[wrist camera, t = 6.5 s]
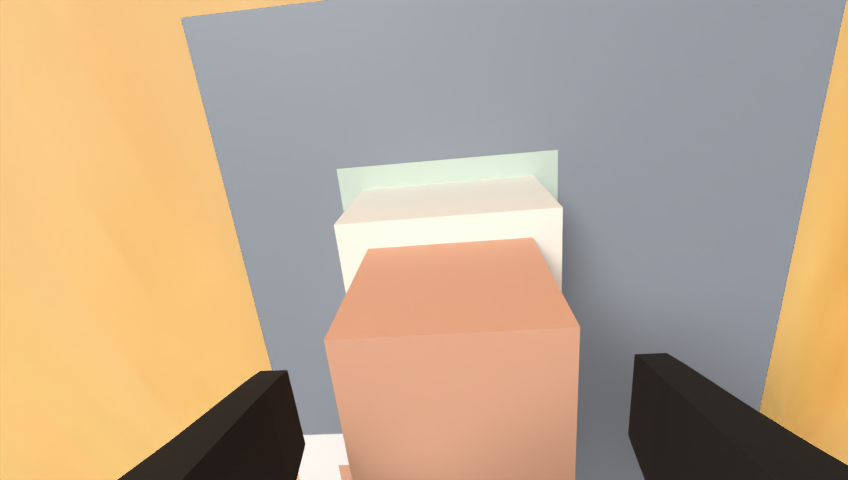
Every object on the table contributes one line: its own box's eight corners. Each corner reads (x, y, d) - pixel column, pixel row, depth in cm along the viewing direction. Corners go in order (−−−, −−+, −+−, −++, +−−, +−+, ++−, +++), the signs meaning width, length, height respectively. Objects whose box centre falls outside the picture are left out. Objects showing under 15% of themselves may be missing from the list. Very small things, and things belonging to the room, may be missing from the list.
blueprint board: (722, 521, 21) (732, 539, 20) (321, 527, 23) (316, 544, 22) (835, -56, 13) (861, -66, 12) (194, 21, 14) (179, 17, 14)
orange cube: (533, 375, 13) (573, 515, 9) (387, 382, 13) (360, 519, 9) (532, 237, 11) (580, 327, 7) (368, 248, 12) (323, 340, 8)
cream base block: (535, 327, 17) (559, 397, 13) (383, 335, 17) (365, 405, 14) (533, 175, 15) (562, 207, 11) (361, 189, 15) (333, 225, 11)
